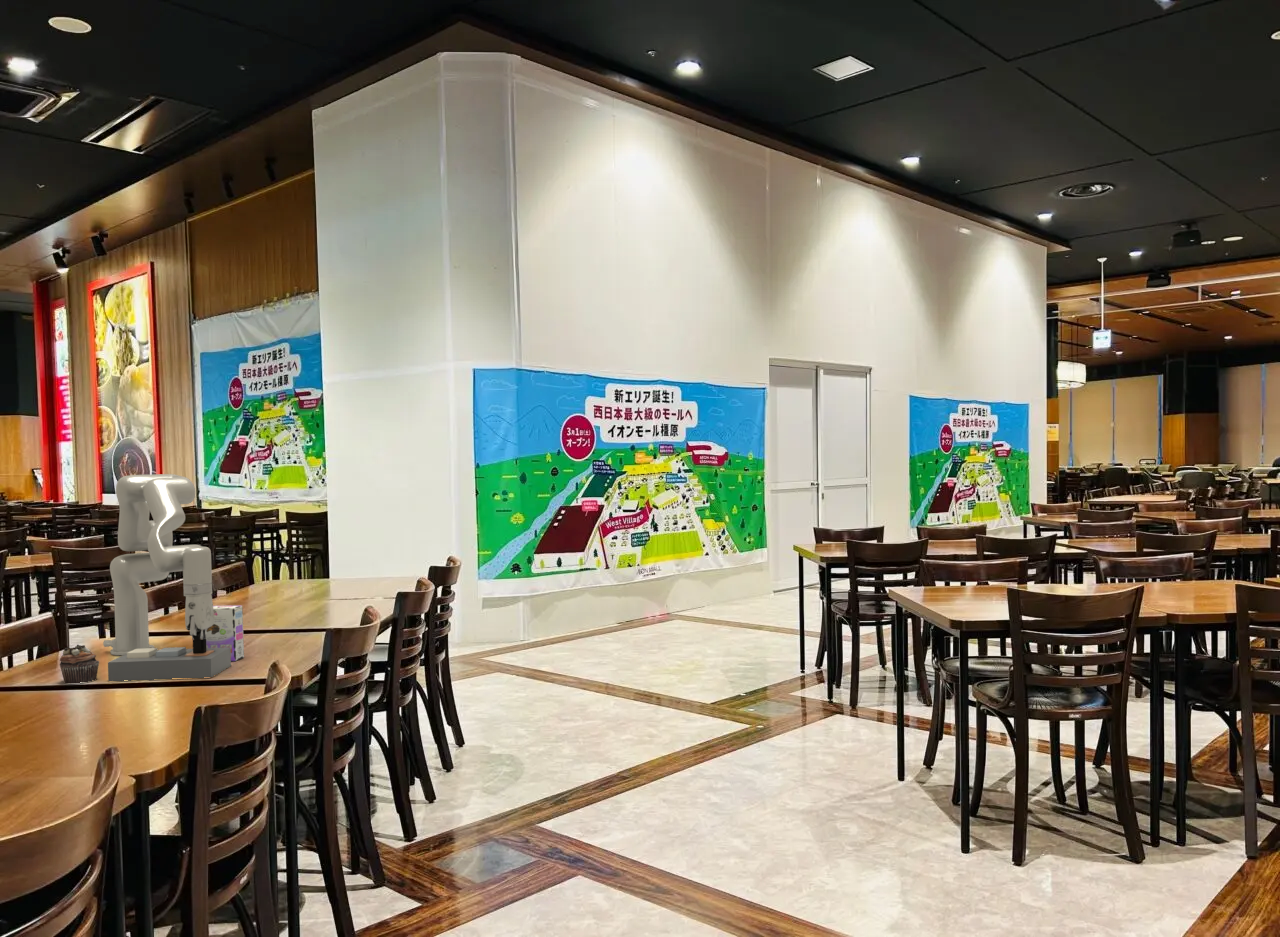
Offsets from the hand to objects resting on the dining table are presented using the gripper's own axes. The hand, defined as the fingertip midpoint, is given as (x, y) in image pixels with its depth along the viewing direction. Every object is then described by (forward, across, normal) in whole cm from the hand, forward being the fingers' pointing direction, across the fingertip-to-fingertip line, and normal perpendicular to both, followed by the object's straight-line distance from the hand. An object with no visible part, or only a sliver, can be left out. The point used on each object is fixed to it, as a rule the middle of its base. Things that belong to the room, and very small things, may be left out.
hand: (199, 652), depth 282 cm
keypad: (+6, 0, +8) cm, 10 cm away
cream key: (+2, 0, +16) cm, 16 cm away
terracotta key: (+4, 0, 0) cm, 4 cm away
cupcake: (+6, -5, +31) cm, 32 cm away
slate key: (+2, 0, +8) cm, 8 cm away
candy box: (+6, +18, +1) cm, 19 cm away
